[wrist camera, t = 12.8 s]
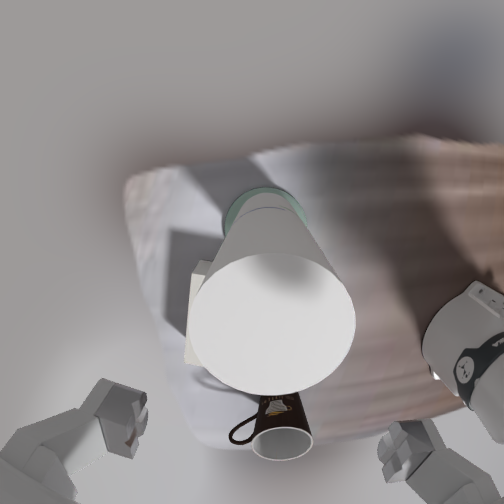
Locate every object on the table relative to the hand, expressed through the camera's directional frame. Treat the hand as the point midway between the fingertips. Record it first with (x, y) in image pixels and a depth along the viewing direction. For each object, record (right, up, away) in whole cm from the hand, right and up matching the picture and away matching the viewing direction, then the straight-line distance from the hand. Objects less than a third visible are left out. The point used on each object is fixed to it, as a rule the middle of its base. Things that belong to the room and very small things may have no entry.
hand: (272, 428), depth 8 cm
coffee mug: (+2, -18, +37) cm, 41 cm away
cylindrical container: (+1, +9, +28) cm, 30 cm away
